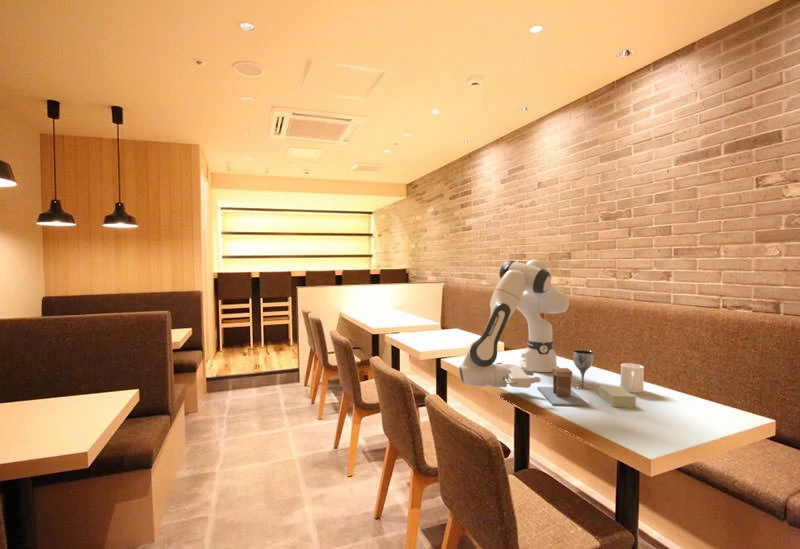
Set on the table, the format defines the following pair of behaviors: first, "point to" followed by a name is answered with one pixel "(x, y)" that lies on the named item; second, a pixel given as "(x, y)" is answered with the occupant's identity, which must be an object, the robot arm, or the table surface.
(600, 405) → the table surface
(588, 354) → the wine glass
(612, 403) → the pale olive rectangular block
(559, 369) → the stool
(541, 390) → the mat
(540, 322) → the robot arm
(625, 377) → the mug
